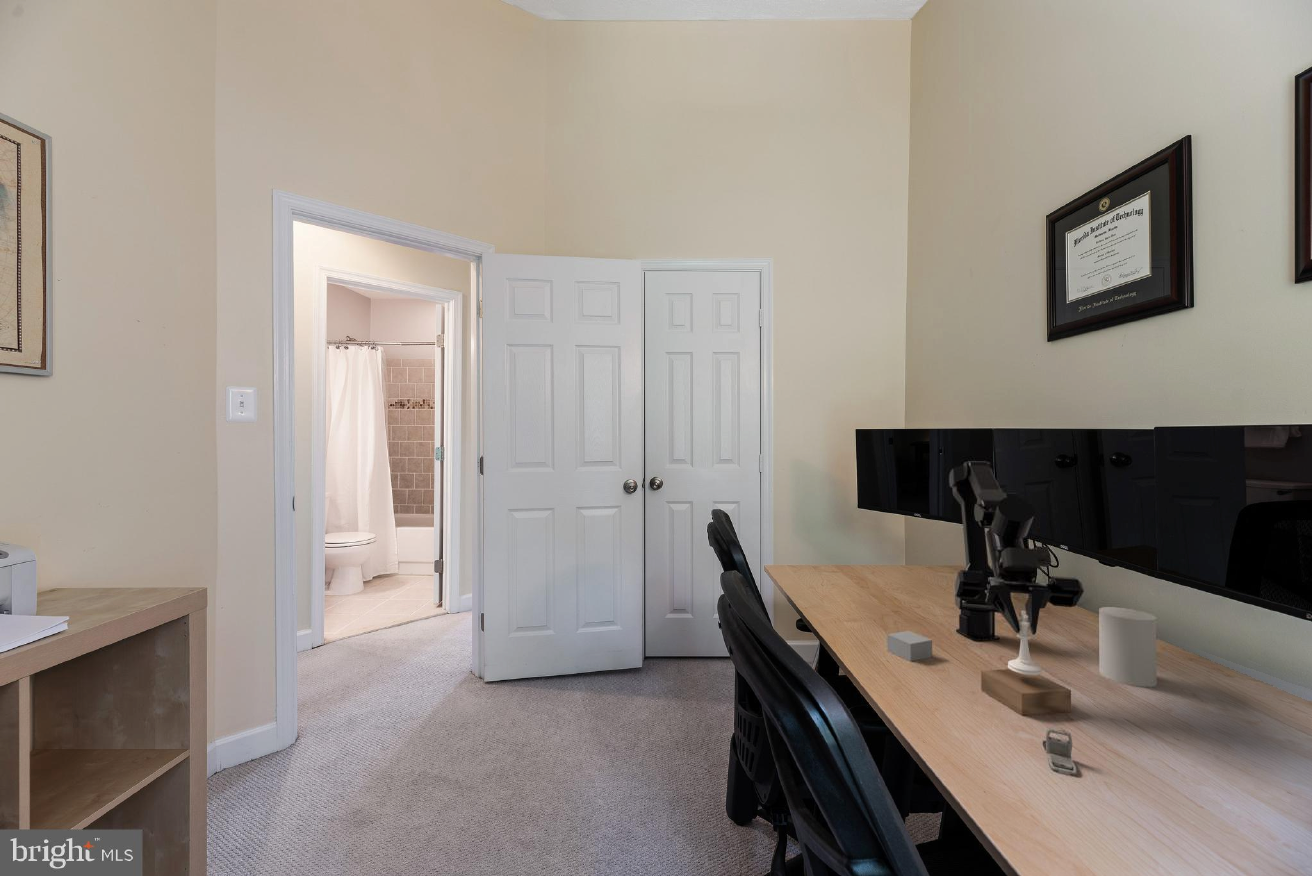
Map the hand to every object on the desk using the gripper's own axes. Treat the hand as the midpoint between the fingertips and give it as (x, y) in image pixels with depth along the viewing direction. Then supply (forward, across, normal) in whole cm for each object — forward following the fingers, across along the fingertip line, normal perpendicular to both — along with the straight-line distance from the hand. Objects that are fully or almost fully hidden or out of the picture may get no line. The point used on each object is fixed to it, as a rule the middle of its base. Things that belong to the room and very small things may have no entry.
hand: (1026, 632), depth 93 cm
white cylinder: (-4, +21, +22) cm, 31 cm away
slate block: (-4, -16, +21) cm, 27 cm away
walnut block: (+8, 0, +9) cm, 12 cm away
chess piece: (+4, 0, +6) cm, 7 cm away
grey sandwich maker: (+21, -1, -4) cm, 21 cm away
